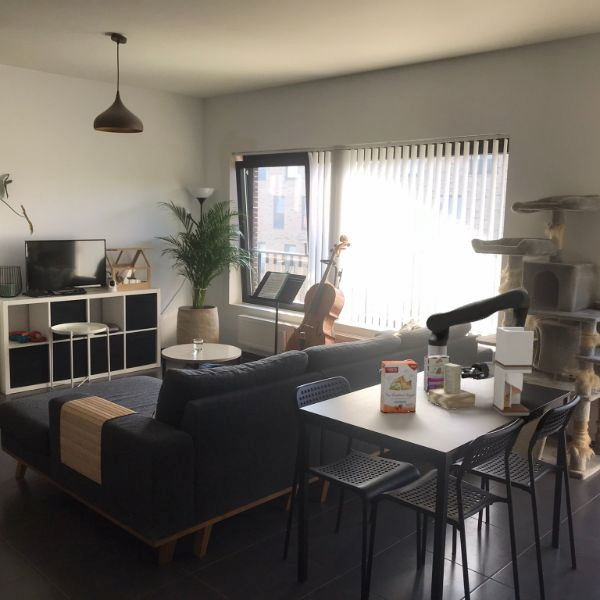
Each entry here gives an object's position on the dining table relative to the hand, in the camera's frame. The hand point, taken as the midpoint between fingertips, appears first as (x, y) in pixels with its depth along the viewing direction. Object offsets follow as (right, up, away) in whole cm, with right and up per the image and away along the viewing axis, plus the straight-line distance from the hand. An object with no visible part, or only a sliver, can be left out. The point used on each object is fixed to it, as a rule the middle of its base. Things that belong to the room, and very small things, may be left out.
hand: (455, 373), depth 278 cm
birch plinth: (-2, -13, +1) cm, 13 cm away
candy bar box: (-3, -11, +23) cm, 26 cm away
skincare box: (-1, -8, 0) cm, 8 cm away
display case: (+21, -15, -11) cm, 28 cm away
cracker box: (-27, -14, -11) cm, 32 cm away
